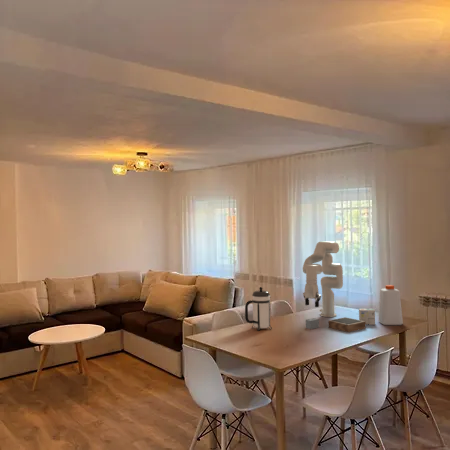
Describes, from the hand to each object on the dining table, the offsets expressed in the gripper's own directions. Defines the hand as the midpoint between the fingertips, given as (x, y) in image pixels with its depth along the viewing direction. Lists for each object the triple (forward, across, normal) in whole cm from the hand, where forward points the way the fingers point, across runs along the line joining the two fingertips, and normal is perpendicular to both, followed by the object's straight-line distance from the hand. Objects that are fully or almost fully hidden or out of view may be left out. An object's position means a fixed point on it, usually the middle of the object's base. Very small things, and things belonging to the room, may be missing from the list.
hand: (312, 306), depth 319 cm
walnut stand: (+16, +16, +19) cm, 29 cm away
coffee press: (+16, -20, -31) cm, 41 cm away
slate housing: (+16, 0, 0) cm, 16 cm away
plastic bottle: (+15, +26, +55) cm, 62 cm away
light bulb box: (+15, +16, +41) cm, 46 cm away
